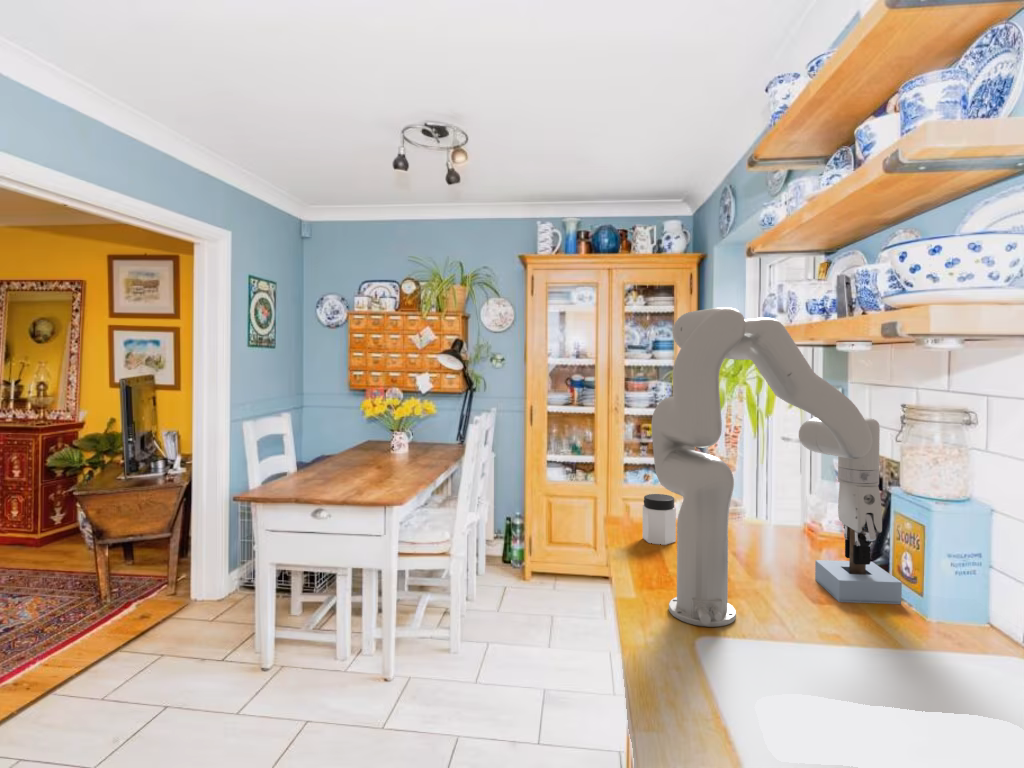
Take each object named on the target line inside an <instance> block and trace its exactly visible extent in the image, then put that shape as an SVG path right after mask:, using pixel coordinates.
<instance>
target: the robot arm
mask: <svg viewBox="0 0 1024 768" xmlns="http://www.w3.org/2000/svg"><path fill="white" fill-rule="evenodd" d="M672 336H673V339H674V342H675V343H676V345H677V346H678V347H679V348H680V350H679V351H678V354H677V355H676V358H675V361H674V364H673V369H672V370H673V371H672V395H673V396H668V397H666V398H664V399H662V400H661V401H660V402H659V403H658V404H657V406H656V407H655V408H654V410H653V413H652V416H651V417H652V418H651V437H652V439H651V440H652V449H653V460H654V470H655V473H656V477H657V480H658V482H659V483H660V485H662V486H663V487H664V488H665V489H666V490H667V491H670V492H672V493H674V494H677V495H679V496H681V497H683V500H682V503H681V506H680V508H679V512H678V514H677V519H676V597H673V598H672V599H671V600H669V602H668V611H669V612H670V614H671V615H672V616H673V618H675V619H677V620H678V621H679V620H680V621H682V622H683V623H687V624H690V625H694V626H697V627H698V626H699V627H708V628H710V627H711V628H715V627H724V626H728V625H730V624H731V623H733V622H734V621H736V617H737V612H736V609H735V607H734V606H733V605H732V604H730V603H729V602H728V599H729V598H728V595H729V594H728V586H729V584H728V583H729V580H728V579H729V577H728V576H729V575H728V574H729V515H730V507H731V501H732V497H733V492H734V488H735V479H734V475H733V473H732V472H733V471H732V469H731V468H730V467H729V465H728V464H727V463H726V462H725V461H724V460H722V459H721V458H719V457H717V456H714V455H712V454H709V453H707V452H705V453H704V452H702V451H698V450H696V448H700V449H701V448H703V449H704V448H710V447H712V446H714V445H716V443H717V442H718V441H719V440H720V438H721V435H722V428H723V425H722V407H721V397H720V371H721V368H722V365H723V363H724V361H725V360H726V359H727V360H739V361H741V360H747V361H749V360H750V361H751V362H752V363H753V364H754V365H755V367H756V369H757V370H758V372H759V373H760V374H761V376H762V378H763V379H764V380H765V382H766V383H767V385H768V387H769V388H770V389H771V391H772V392H773V394H774V395H775V396H776V397H777V398H779V399H780V400H782V401H784V402H786V403H787V404H789V405H791V406H793V407H796V408H798V409H800V410H803V411H804V412H807V413H809V414H810V415H812V416H813V417H812V418H810V419H807V420H806V421H805V422H803V423H802V424H801V426H800V428H799V430H798V439H799V442H800V443H801V445H802V446H804V447H805V449H807V450H809V451H811V452H814V453H817V454H818V453H819V454H823V455H827V456H835V457H837V459H838V460H837V462H838V463H837V466H838V467H837V482H838V483H839V489H838V490H839V491H838V503H837V504H838V505H837V512H838V513H837V514H838V520H839V521H840V522H841V524H842V526H843V529H844V532H843V533H844V535H843V536H844V557H845V558H846V559H850V528H851V529H853V530H855V545H853V563H854V564H865V565H869V564H870V562H871V547H872V542H874V541H876V540H877V536H876V533H877V534H880V533H882V532H883V516H882V515H883V514H882V510H883V509H882V500H881V498H882V497H881V493H880V487H879V485H880V438H881V437H880V434H881V432H880V430H881V429H880V424H879V421H878V420H877V419H875V418H870V417H864V416H863V414H862V413H861V412H860V410H859V408H858V406H856V404H855V403H854V402H853V401H852V400H851V398H849V397H848V396H847V395H845V394H844V393H842V391H840V390H839V389H837V388H836V387H835V386H833V385H832V384H831V383H829V382H828V381H827V380H825V379H824V378H822V377H821V376H820V375H818V374H817V373H816V372H814V370H813V369H812V367H811V366H810V363H808V361H807V359H806V358H805V357H804V356H805V355H803V354H802V352H801V349H799V347H798V346H797V344H796V342H795V341H794V339H793V337H792V336H791V335H790V333H789V331H788V330H787V329H786V326H784V324H782V322H780V321H779V320H777V319H775V318H773V317H772V318H771V317H757V318H747V319H745V317H744V315H743V313H742V312H740V311H739V310H738V309H736V308H733V307H728V306H727V307H726V306H725V307H724V306H723V307H713V308H706V309H700V310H692V311H689V312H686V313H683V314H682V315H680V317H678V318H677V319H676V320H675V323H674V324H673V328H672ZM862 528H865V530H866V531H863V530H862ZM860 534H866V535H864V536H861V538H860Z"/></svg>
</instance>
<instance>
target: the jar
mask: <svg viewBox="0 0 1024 768" xmlns="http://www.w3.org/2000/svg"><path fill="white" fill-rule="evenodd" d="M676 511H677V509H676V507H675V498H674V496H673V495H672V496H671V495H669V494H664V493H663V494H662V493H652V494H651V493H650V494H646V495H644V496H643V505H642V539H643V540H644V541H646V542H647V543H648V544H651V543H652V544H653V545H660V544H661V545H662V546H667V545H670V544H673V543H675V542H676V543H677V513H676Z"/></svg>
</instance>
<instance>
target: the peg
mask: <svg viewBox="0 0 1024 768" xmlns="http://www.w3.org/2000/svg"><path fill="white" fill-rule="evenodd" d="M862 530H863V531H866V530H865V528H862ZM864 535H866V534H860V538H861V536H864ZM853 545H855V530H853V529H851V528H850V558H849V559H848V561H849V574H861V575H866V565H865V564H854V563H853Z"/></svg>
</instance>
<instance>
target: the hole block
mask: <svg viewBox="0 0 1024 768" xmlns="http://www.w3.org/2000/svg"><path fill="white" fill-rule="evenodd" d="M814 565H815V567H814V569H815V570H814V571H815V572H814V575H815V576H814V577H815V578H814V579H815V582H817V583H818V584H819V585H820V586H821V587H822V588H823V589H825V590H826V592H827V593H829V594H830V595H831V596H832V597H833V598H834V599H835V600H836V601H838V603H860V604H861V603H862V604H863V603H864V604H885V605H886V604H887V605H888V604H889V605H902V590H903V589H902V586H903V583H902V581H900V580H899V579H898V578H896V577H895V576H893V575H892V574H891V573H889V572H888V571H886V570H885V569H884V568H882V567H881V566H879V565H878V564H877V563H875V562H873V561H870V564H869V565H866V575H861V574H849V560H830V559H829V560H826V559H825V560H824V559H820V560H819V559H815V564H814Z"/></svg>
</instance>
